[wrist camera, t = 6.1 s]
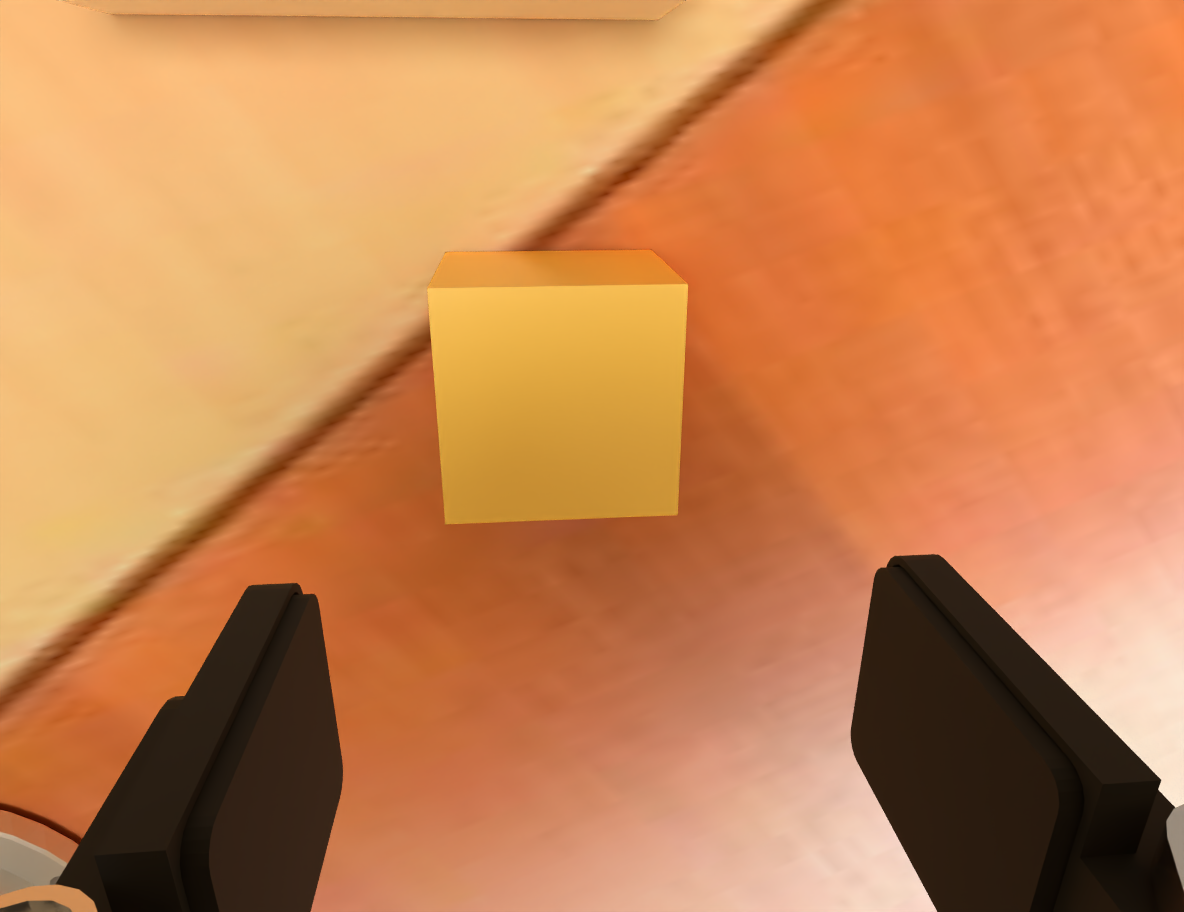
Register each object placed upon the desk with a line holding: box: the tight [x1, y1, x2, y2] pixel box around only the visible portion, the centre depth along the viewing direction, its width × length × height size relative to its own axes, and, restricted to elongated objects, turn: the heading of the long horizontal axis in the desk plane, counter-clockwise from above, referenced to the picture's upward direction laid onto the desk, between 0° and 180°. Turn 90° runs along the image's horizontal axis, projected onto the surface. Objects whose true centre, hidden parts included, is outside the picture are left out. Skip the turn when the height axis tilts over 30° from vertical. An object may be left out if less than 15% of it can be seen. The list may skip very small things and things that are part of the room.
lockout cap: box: [427, 250, 688, 524], centre depth 22 cm, size 6×6×6 cm
